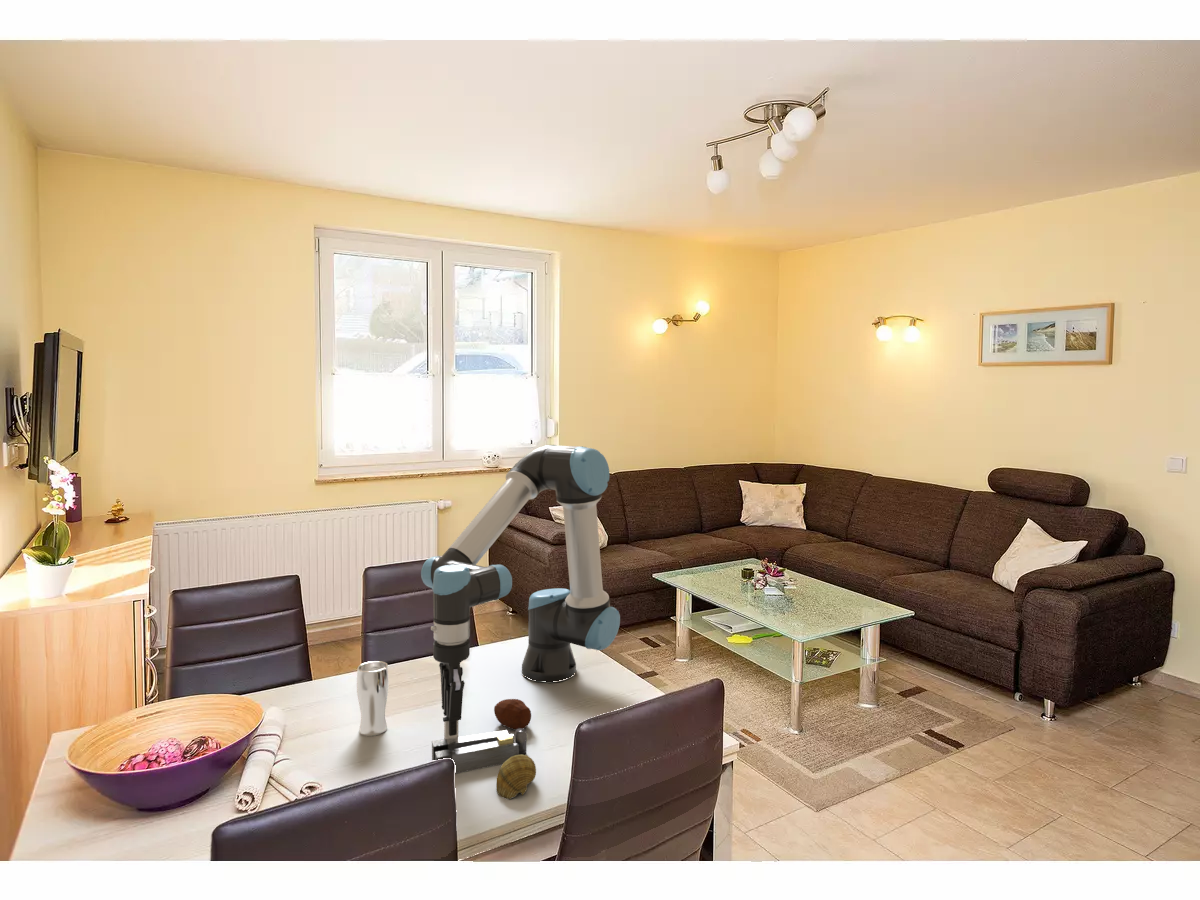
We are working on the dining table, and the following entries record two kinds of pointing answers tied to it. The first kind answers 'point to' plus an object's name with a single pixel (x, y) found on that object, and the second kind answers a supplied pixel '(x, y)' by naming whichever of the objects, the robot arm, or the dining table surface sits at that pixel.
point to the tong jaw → (466, 741)
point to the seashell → (515, 776)
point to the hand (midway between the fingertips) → (451, 747)
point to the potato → (512, 713)
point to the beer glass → (372, 696)
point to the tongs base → (486, 752)
